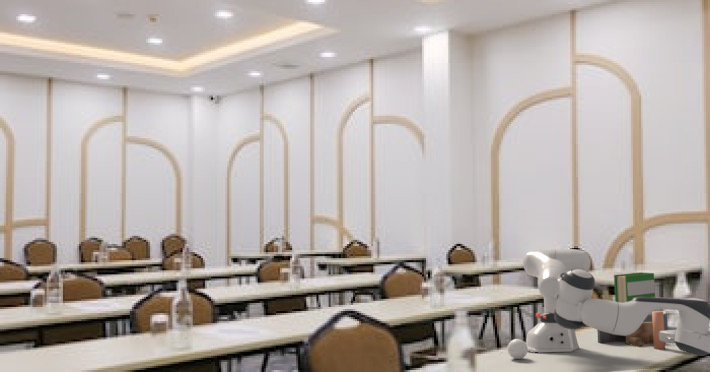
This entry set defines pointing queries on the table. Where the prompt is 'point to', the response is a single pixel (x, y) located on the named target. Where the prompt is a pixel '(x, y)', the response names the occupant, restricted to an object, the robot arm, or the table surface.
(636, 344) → the notch block
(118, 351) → the table surface
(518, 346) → the seamed sphere
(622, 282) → the hardback book
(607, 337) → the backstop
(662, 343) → the dowel
